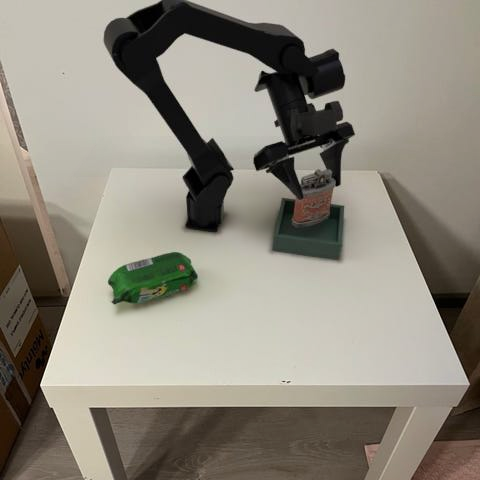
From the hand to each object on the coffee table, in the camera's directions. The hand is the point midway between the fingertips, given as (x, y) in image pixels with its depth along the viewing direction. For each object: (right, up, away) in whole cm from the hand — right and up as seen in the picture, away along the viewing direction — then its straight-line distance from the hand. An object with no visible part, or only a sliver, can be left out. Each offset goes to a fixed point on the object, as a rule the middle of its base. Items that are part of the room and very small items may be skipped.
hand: (320, 192), depth 87 cm
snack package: (-29, -18, -2) cm, 34 cm away
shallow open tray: (-1, -6, +9) cm, 11 cm away
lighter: (-1, -4, +6) cm, 7 cm away
